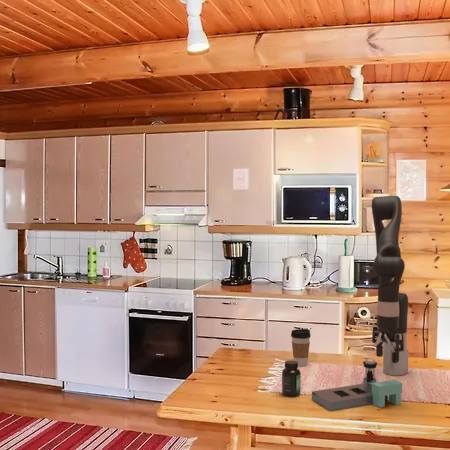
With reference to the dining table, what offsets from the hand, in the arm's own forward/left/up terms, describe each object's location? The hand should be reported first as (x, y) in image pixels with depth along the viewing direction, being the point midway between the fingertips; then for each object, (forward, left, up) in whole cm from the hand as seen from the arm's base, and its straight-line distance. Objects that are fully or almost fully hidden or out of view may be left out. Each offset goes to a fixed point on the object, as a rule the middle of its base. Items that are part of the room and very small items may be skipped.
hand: (387, 359), depth 204 cm
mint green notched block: (0, 0, -16) cm, 16 cm away
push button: (-7, -18, -16) cm, 25 cm away
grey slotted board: (+10, -8, -16) cm, 20 cm away
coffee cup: (+4, -53, -16) cm, 55 cm away
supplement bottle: (+26, -22, -16) cm, 38 cm away
